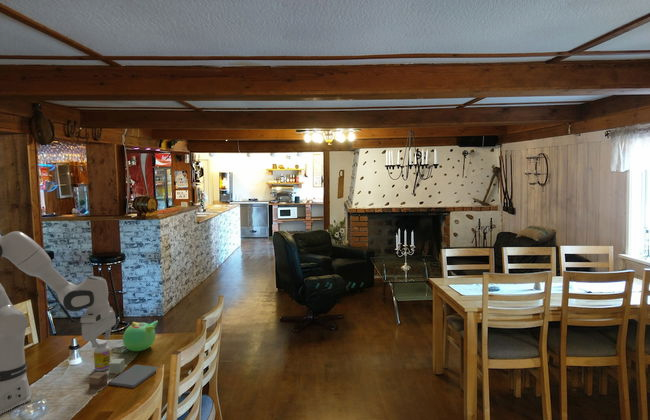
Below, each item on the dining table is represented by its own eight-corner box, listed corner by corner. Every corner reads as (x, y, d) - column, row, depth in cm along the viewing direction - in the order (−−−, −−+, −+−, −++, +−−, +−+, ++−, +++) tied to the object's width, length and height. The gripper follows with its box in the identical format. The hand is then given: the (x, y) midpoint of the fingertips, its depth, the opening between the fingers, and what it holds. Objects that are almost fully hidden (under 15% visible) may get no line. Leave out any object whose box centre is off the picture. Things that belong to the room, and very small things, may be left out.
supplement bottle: (104, 371, 207) (102, 345, 206) (91, 370, 209) (90, 344, 207) (113, 365, 214) (112, 339, 213) (101, 364, 215) (100, 339, 214)
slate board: (133, 387, 192) (133, 385, 192) (108, 384, 195) (108, 381, 195) (159, 369, 209) (159, 367, 209) (135, 366, 212) (135, 364, 212)
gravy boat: (125, 344, 240) (124, 318, 238) (159, 340, 245) (157, 315, 243) (121, 358, 222) (119, 329, 221) (157, 353, 228) (155, 325, 226)
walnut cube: (99, 389, 191) (98, 378, 190) (89, 388, 192) (88, 376, 192) (107, 383, 196) (106, 373, 195) (98, 382, 197) (97, 371, 197)
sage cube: (120, 373, 205) (119, 363, 205) (109, 373, 205) (108, 363, 205) (124, 368, 210) (124, 358, 210) (114, 369, 210) (113, 358, 210)
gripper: (105, 304, 206) (107, 333, 208) (77, 320, 186) (80, 352, 187) (118, 304, 206) (120, 333, 207) (91, 320, 185) (94, 352, 187)
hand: (101, 342), depth 197 cm, fingers open, 8 cm apart
